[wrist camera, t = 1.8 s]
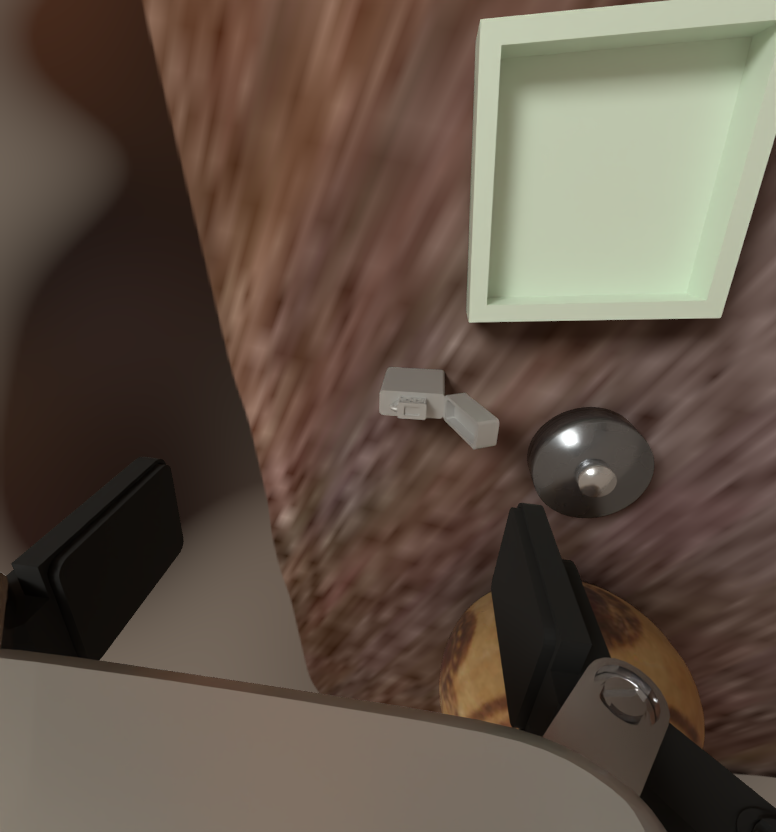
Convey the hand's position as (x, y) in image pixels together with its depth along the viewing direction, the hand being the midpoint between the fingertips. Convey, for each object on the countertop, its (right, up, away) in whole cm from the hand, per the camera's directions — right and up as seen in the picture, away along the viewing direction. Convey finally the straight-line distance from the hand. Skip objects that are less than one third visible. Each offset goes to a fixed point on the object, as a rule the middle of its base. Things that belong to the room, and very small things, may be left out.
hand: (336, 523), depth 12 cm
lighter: (+5, +6, +19) cm, 21 cm away
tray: (+13, +16, +13) cm, 24 cm away
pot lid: (+16, 0, +21) cm, 26 cm away
